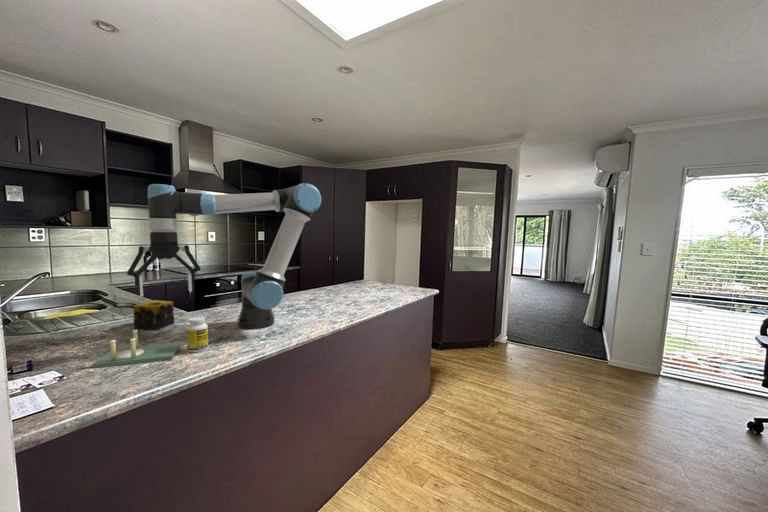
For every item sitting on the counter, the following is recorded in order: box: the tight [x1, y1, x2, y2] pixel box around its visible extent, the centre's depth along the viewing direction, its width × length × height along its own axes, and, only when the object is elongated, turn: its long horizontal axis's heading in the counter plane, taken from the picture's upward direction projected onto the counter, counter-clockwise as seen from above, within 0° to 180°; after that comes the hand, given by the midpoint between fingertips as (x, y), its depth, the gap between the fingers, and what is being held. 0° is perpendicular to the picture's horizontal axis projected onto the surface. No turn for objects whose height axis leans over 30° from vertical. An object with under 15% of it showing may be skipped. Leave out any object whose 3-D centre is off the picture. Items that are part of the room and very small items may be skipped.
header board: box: [91, 329, 183, 369], centre depth 100 cm, size 20×12×7 cm, turn 111°
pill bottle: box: [186, 316, 209, 353], centre depth 106 cm, size 6×6×11 cm
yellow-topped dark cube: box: [132, 299, 175, 331], centre depth 129 cm, size 10×10×10 cm
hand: (167, 293), depth 105 cm, fingers open, 13 cm apart
